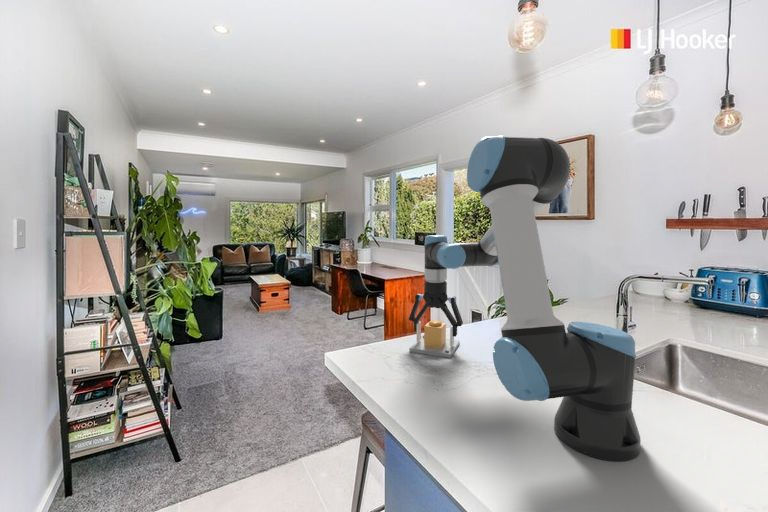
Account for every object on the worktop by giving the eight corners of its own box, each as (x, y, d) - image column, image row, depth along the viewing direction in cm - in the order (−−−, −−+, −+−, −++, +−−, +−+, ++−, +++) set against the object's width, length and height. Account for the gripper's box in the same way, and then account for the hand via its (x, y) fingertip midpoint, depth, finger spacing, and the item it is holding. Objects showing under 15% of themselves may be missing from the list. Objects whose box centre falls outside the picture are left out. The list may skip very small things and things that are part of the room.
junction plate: (450, 357, 116) (450, 339, 115) (409, 351, 121) (409, 333, 121) (459, 343, 129) (459, 327, 128) (422, 338, 134) (422, 322, 134)
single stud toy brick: (441, 348, 121) (441, 325, 120) (424, 345, 124) (424, 323, 123) (445, 342, 127) (445, 320, 126) (429, 340, 129) (429, 319, 128)
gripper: (472, 281, 121) (471, 343, 124) (406, 276, 131) (406, 335, 133) (468, 284, 114) (467, 351, 117) (399, 280, 124) (399, 341, 126)
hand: (435, 342), depth 125 cm, fingers open, 11 cm apart
